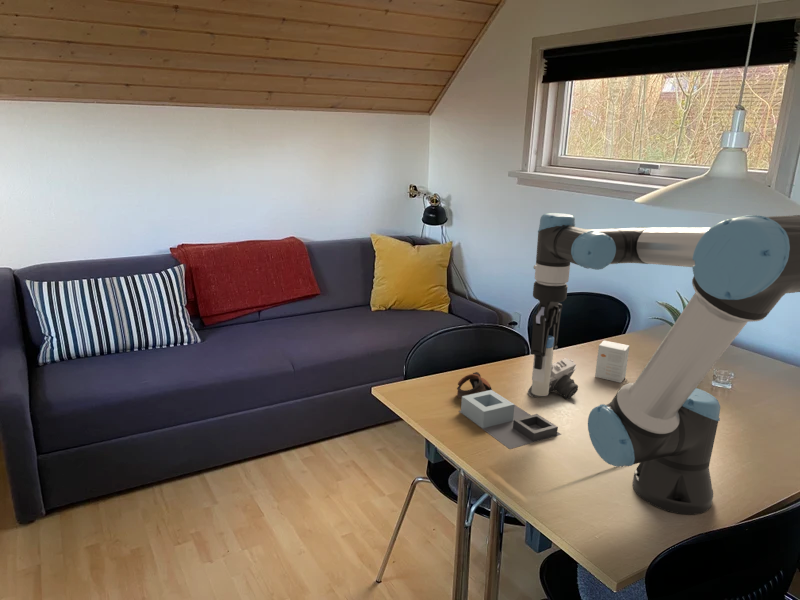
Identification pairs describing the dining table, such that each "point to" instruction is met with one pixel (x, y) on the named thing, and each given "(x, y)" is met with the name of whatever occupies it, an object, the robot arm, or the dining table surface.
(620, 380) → the small box
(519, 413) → the mat
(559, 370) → the camera
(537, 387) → the plug
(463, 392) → the brown arched frame
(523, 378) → the dining table surface
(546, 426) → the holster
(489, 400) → the block
